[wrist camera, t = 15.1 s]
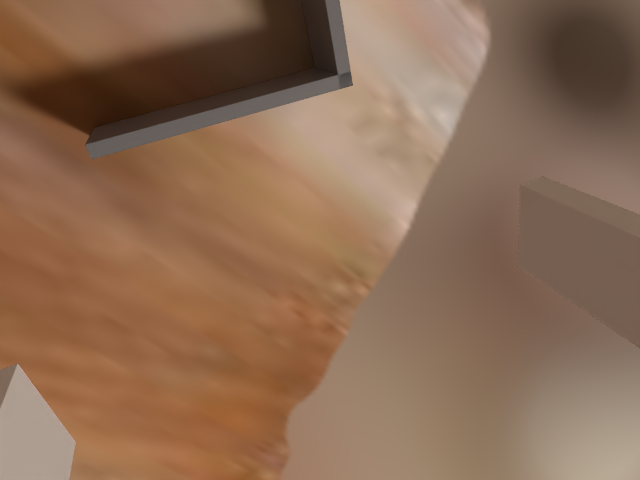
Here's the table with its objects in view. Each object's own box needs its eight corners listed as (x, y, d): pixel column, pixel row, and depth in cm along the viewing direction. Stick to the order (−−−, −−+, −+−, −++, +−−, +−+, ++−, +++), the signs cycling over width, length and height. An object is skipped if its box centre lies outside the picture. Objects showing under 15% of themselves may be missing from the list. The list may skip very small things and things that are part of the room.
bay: (99, 140, 34) (91, 159, 30) (9, -59, 28) (-19, -75, 23) (328, 77, 38) (352, 85, 33) (293, -112, 32) (318, -135, 27)
